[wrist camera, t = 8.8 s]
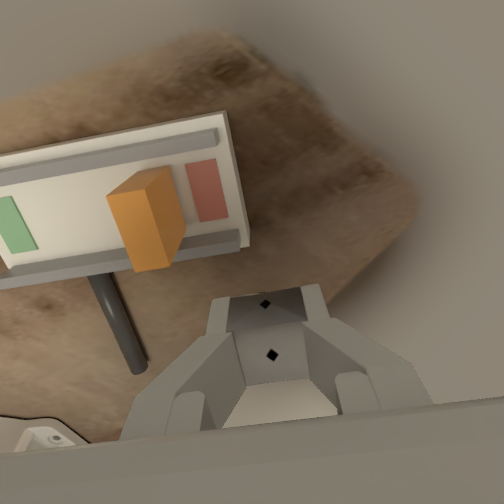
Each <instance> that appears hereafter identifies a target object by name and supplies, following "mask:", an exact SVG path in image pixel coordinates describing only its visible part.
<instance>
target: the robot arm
mask: <svg viewBox="0 0 504 504" xmlns="http://www.w3.org/2000/svg"><path fill="white" fill-rule="evenodd" d="M306 378H310V380H311V381H312V382H313V383H314V384H315V385H316V386H317V387H318V389H320V391H321V392H322V393H323V394H324V395H325V396H326V397H327V398H328V399H329V400H330V401H331V402H332V403H333V404H334V406H335V407H336V408H337V412H338V415H335V416H326V417H317V418H309V419H301V420H291V421H283V422H274V423H266V424H258V425H248V426H240V427H231V428H222V427H223V425H224V423H225V422H226V420H227V418H228V417H229V415H230V414H231V412H232V410H233V409H234V407H235V405H236V404H237V402H238V401H239V399H240V397H241V396H242V394H243V392H244V391H245V389H246V386H249V385H256V384H263V383H269V382H276V381H285V380H296V379H306ZM221 428H222V429H221ZM0 504H504V396H502V397H494V398H485V399H477V400H469V401H460V402H451V403H442V404H434V403H433V401H432V399H431V398H430V396H429V394H428V392H427V390H426V389H425V387H424V385H423V383H422V381H421V380H420V378H419V376H418V374H417V373H416V371H415V369H414V367H413V365H412V364H411V363H410V362H408V361H407V360H405V359H404V358H402V357H400V356H398V355H397V354H395V353H394V352H392V351H390V350H389V349H387V348H385V347H384V346H382V345H380V344H378V343H377V342H375V341H374V340H372V339H370V338H369V337H367V336H365V335H364V334H362V333H360V332H359V331H357V330H355V329H353V328H352V327H350V326H348V325H347V324H345V323H344V322H342V321H340V320H339V319H337V318H330V316H329V313H328V310H327V307H326V304H325V301H324V298H323V295H322V292H321V289H320V285H319V284H318V283H315V284H310V285H305V286H300V287H294V288H288V289H282V290H277V291H271V292H260V293H253V294H245V295H237V296H231V297H230V296H228V297H222V298H216V299H213V300H212V303H211V308H210V313H209V318H208V323H207V328H206V333H205V336H200V337H199V338H198V339H197V340H196V341H194V342H193V343H192V344H191V345H190V346H189V347H188V348H187V349H186V350H185V351H184V352H183V353H182V354H181V355H180V356H178V357H177V358H176V359H175V360H174V361H173V362H172V363H171V364H170V365H169V366H168V367H167V368H166V369H165V370H164V371H162V372H161V373H160V374H159V375H158V376H157V377H156V378H155V379H154V380H153V381H152V382H151V383H150V384H149V385H148V386H146V387H145V388H144V389H143V390H142V391H141V392H140V393H139V394H138V395H137V396H136V397H135V399H134V401H133V404H132V407H131V409H130V412H129V414H128V417H127V420H126V422H125V425H124V427H123V430H122V433H121V435H120V438H119V440H118V441H109V442H100V443H92V444H88V443H87V442H86V441H84V440H83V439H82V438H81V437H79V436H78V435H77V434H75V433H74V432H73V431H72V430H70V429H69V428H68V427H66V426H65V425H64V424H62V423H61V422H60V421H58V420H55V419H50V418H44V419H34V420H19V419H13V418H5V417H0Z"/></svg>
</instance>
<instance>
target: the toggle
mask: <svg viewBox="0 0 504 504" xmlns="http://www.w3.org/2000/svg"><path fill="white" fill-rule="evenodd" d="M106 199H107V201H108V204H109V207H110V209H111V212H112V214H113V217H114V220H115V222H116V225H117V227H118V230H119V232H120V235H121V238H122V240H123V243H124V245H125V248H126V251H127V253H128V256H129V258H130V261H131V263H132V266H133V269H134V271H135V272H141V271H147V270H153V269H160V268H166V267H170V266H171V264H172V261H173V259H174V257H175V255H176V253H177V250H178V248H179V246H180V244H181V241H182V239H183V237H184V235H185V233H186V230H187V228H186V225H185V221H184V218H183V214H182V211H181V207H180V204H179V201H178V197H177V194H176V190H175V187H174V183H173V180H172V176H171V173H170V169H169V166H162V167H157V168H152V169H146V170H141V171H137V172H136V173H135V174H133V175H132V176H131V177H129V178H128V179H127V180H126V181H124V182H123V183H122V184H120V185H119V186H118V187H117V188H115V189H114V190H113V191H111V192H110V193H109V194H108V195H106Z"/></svg>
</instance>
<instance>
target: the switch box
mask: <svg viewBox="0 0 504 504" xmlns="http://www.w3.org/2000/svg"><path fill="white" fill-rule="evenodd" d="M162 166H169V169H170V173H171V176H172V180H173V183H174V187H175V190H176V194H177V197H178V201H179V204H180V207H181V211H182V214H183V218H184V221H185V225H186V228H187V230H186V233H185V235H184V237H183V239H182V241H181V244H180V246H179V248H178V250H177V253H176V255H175V257H174V259H173V261H172V262H178V261H184V260H190V259H196V258H203V257H209V256H215V255H221V254H228V253H234V252H240V248H243V247H250V227H249V222H248V217H247V212H246V207H245V202H244V197H243V192H242V187H241V182H240V177H239V172H238V167H237V162H236V157H235V152H234V147H233V142H232V137H231V132H230V127H229V122H228V117H227V112H226V110H222V111H217V112H212V113H207V114H202V115H197V116H192V117H187V118H181V119H176V120H171V121H166V122H161V123H156V124H151V125H146V126H141V127H136V128H131V129H125V130H120V131H115V132H110V133H105V134H100V135H95V136H90V137H85V138H80V139H74V140H69V141H64V142H59V143H54V144H49V145H44V146H39V147H34V148H29V149H23V150H18V151H13V152H8V153H3V154H0V255H1V257H2V258H3V260H4V262H5V264H6V265H7V267H8V269H9V270H8V271H6V272H5V273H4V274H2V275H1V276H0V289H1V290H2V289H9V288H15V287H21V286H27V285H34V284H40V283H46V282H52V281H59V280H65V279H71V278H77V277H84V276H87V277H88V280H89V282H90V284H91V286H92V288H93V290H94V293H95V295H96V297H97V299H98V301H99V303H100V305H101V308H102V310H103V312H104V314H105V316H106V318H107V321H108V323H109V325H110V327H111V329H112V331H113V334H114V336H115V338H116V340H117V342H118V344H119V346H120V349H121V351H122V353H123V355H124V357H125V359H126V362H127V364H128V366H129V368H130V370H131V372H132V374H134V375H138V374H141V373H143V372H144V371H145V370H146V369H147V368H148V364H147V361H146V359H145V357H144V354H143V352H142V350H141V347H140V345H139V343H138V340H137V338H136V336H135V333H134V331H133V329H132V326H131V324H130V322H129V319H128V317H127V315H126V312H125V310H124V308H123V305H122V303H121V301H120V298H119V296H118V294H117V291H116V289H115V287H114V284H113V282H112V280H111V277H110V275H109V272H115V271H121V270H127V269H133V266H132V263H131V261H130V258H129V256H128V253H127V251H126V248H125V245H124V243H123V240H122V238H121V235H120V232H119V230H118V227H117V225H116V222H115V220H114V217H113V214H112V212H111V209H110V207H109V204H108V201H107V199H106V195H108V194H109V193H110V192H111V191H113V190H114V189H115V188H117V187H118V186H119V185H120V184H122V183H123V182H124V181H126V180H127V179H128V178H129V177H131V176H132V175H133V174H135V173H136V172H137V171H141V170H146V169H152V168H157V167H162Z"/></svg>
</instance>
